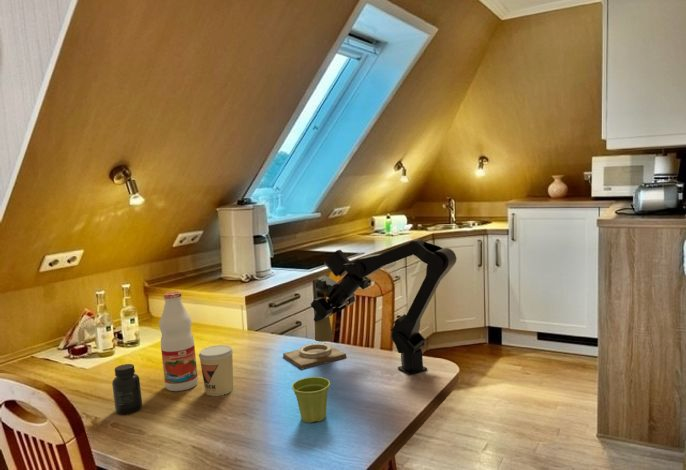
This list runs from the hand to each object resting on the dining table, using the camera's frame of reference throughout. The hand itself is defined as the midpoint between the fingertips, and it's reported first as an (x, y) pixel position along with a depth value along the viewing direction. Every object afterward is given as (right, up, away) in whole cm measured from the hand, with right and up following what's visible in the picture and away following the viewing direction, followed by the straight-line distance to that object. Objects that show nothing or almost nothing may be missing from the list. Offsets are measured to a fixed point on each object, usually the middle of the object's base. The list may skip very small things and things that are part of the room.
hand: (319, 318), depth 178 cm
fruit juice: (-40, -18, -15) cm, 46 cm away
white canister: (-28, -18, -21) cm, 39 cm away
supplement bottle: (-50, -20, -30) cm, 62 cm away
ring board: (-2, -13, +1) cm, 13 cm away
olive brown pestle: (+2, -7, 0) cm, 7 cm away
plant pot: (0, -18, -42) cm, 46 cm away
